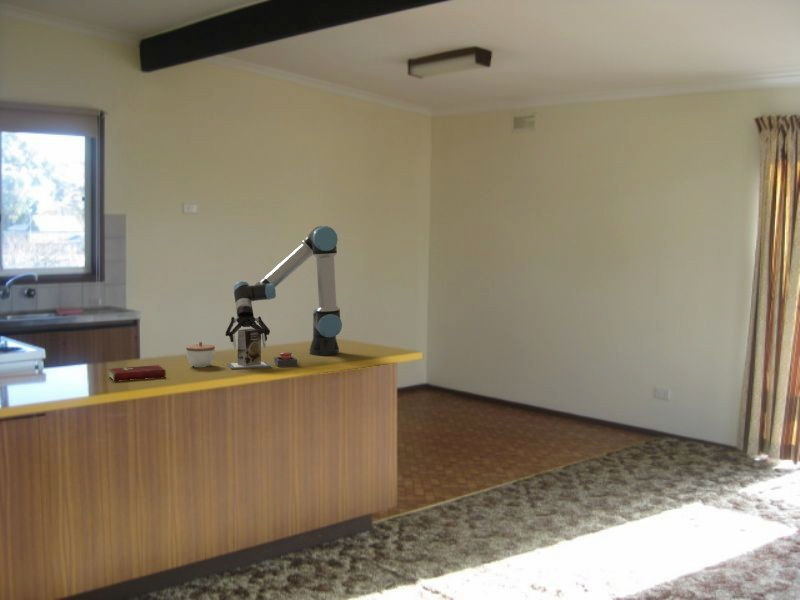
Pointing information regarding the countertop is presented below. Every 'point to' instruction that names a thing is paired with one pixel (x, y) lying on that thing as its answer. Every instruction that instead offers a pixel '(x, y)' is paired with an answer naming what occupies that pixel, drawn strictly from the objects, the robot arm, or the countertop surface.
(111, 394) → the countertop surface
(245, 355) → the coffee box
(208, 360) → the lidded bowl
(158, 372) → the hardcover book
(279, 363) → the button housing
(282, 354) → the button
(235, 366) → the board
